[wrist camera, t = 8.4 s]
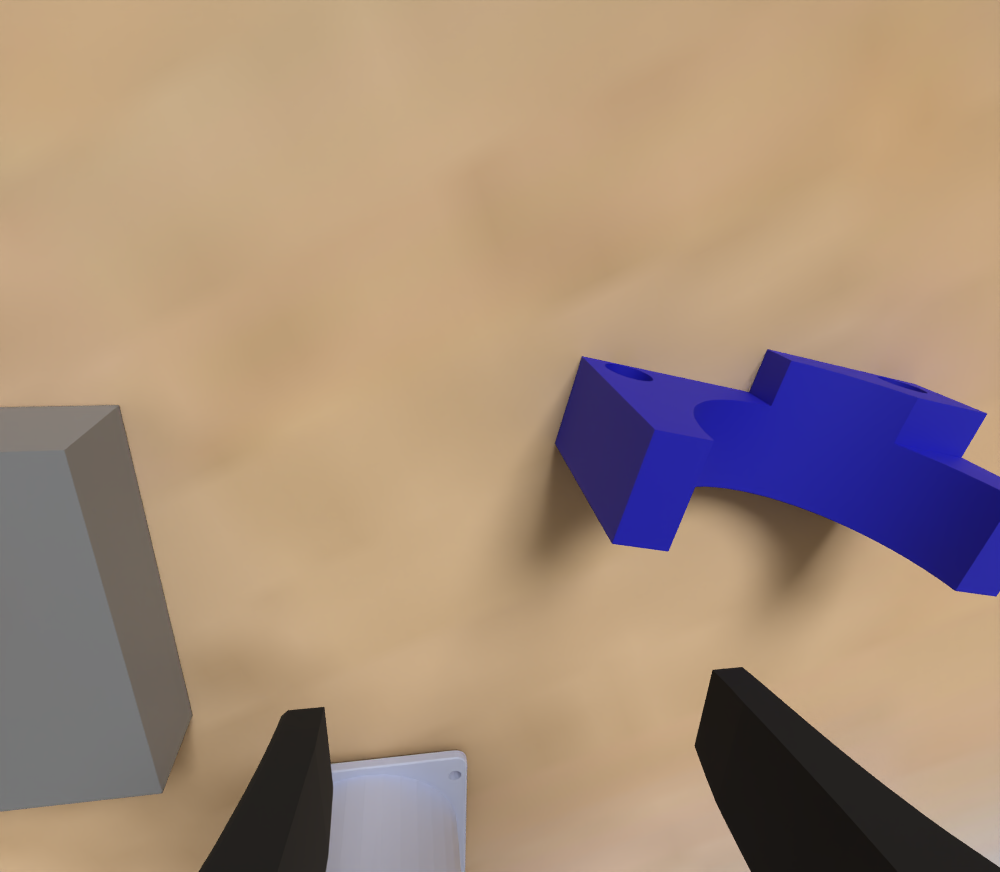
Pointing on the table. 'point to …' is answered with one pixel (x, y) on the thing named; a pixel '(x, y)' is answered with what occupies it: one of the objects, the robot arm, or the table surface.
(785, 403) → the cable clip
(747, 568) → the table surface
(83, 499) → the socket block
